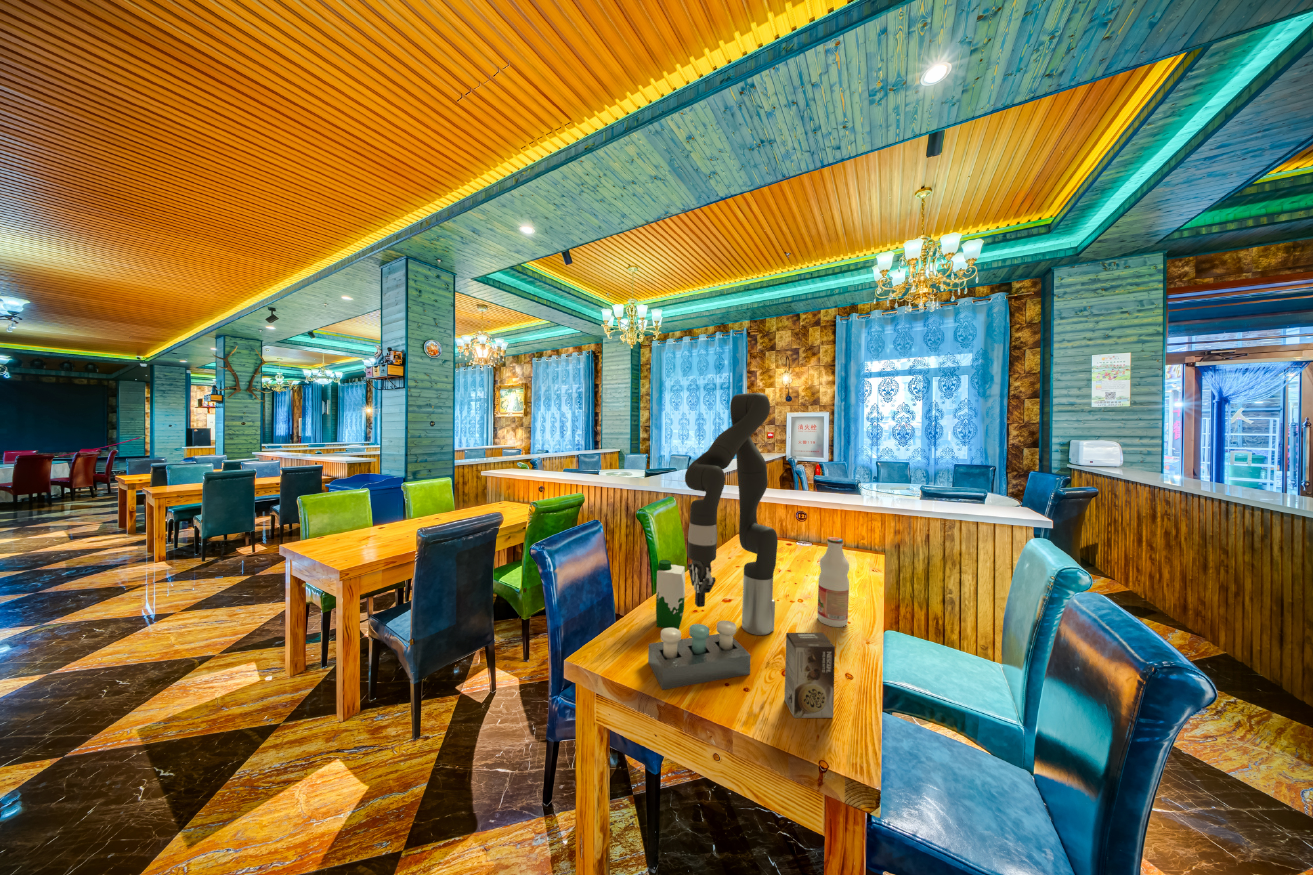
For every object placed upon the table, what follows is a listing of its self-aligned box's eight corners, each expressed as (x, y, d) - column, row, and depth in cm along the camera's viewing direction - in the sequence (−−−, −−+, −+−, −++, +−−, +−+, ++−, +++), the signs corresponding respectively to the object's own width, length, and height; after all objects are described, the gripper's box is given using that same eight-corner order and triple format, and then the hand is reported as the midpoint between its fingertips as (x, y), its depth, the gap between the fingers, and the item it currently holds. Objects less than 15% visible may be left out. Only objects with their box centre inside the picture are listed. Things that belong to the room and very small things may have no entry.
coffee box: (821, 699, 95) (823, 631, 95) (834, 718, 89) (836, 646, 88) (783, 699, 95) (785, 631, 95) (793, 718, 88) (795, 646, 88)
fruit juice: (839, 630, 129) (842, 544, 128) (811, 619, 136) (814, 537, 136) (852, 622, 135) (855, 539, 134) (825, 612, 142) (828, 533, 142)
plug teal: (703, 644, 109) (704, 622, 109) (711, 655, 104) (712, 632, 104) (685, 647, 108) (686, 625, 108) (693, 657, 103) (694, 634, 103)
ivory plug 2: (729, 640, 112) (730, 619, 112) (739, 650, 107) (739, 628, 107) (712, 643, 110) (713, 621, 110) (721, 653, 105) (722, 630, 105)
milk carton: (658, 615, 135) (660, 556, 135) (685, 619, 134) (687, 559, 133) (653, 628, 127) (655, 565, 127) (681, 631, 125) (683, 568, 125)
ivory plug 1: (676, 648, 107) (676, 626, 107) (683, 659, 102) (684, 636, 102) (657, 651, 105) (658, 628, 105) (663, 662, 100) (664, 638, 100)
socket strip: (727, 649, 116) (728, 632, 115) (749, 674, 104) (750, 655, 104) (648, 662, 108) (648, 643, 108) (662, 689, 97) (663, 669, 97)
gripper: (727, 546, 101) (724, 615, 101) (704, 533, 113) (702, 594, 113) (699, 548, 98) (696, 618, 98) (680, 534, 111) (677, 596, 111)
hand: (699, 605), depth 106 cm, fingers closed
